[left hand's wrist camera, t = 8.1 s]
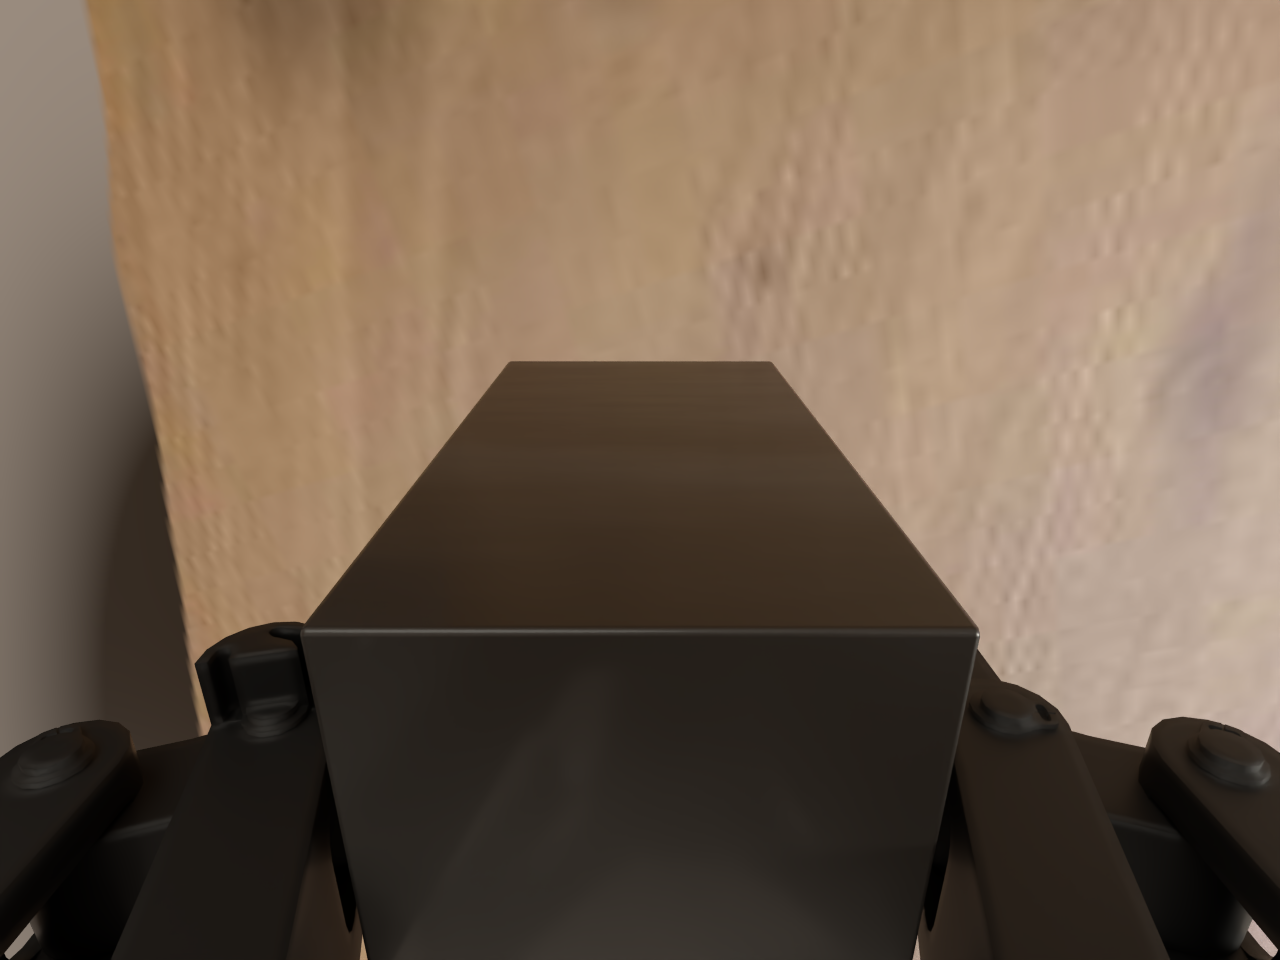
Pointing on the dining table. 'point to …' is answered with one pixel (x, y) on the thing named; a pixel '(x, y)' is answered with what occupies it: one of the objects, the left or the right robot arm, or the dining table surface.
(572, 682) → the bar
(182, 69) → the dining table surface
